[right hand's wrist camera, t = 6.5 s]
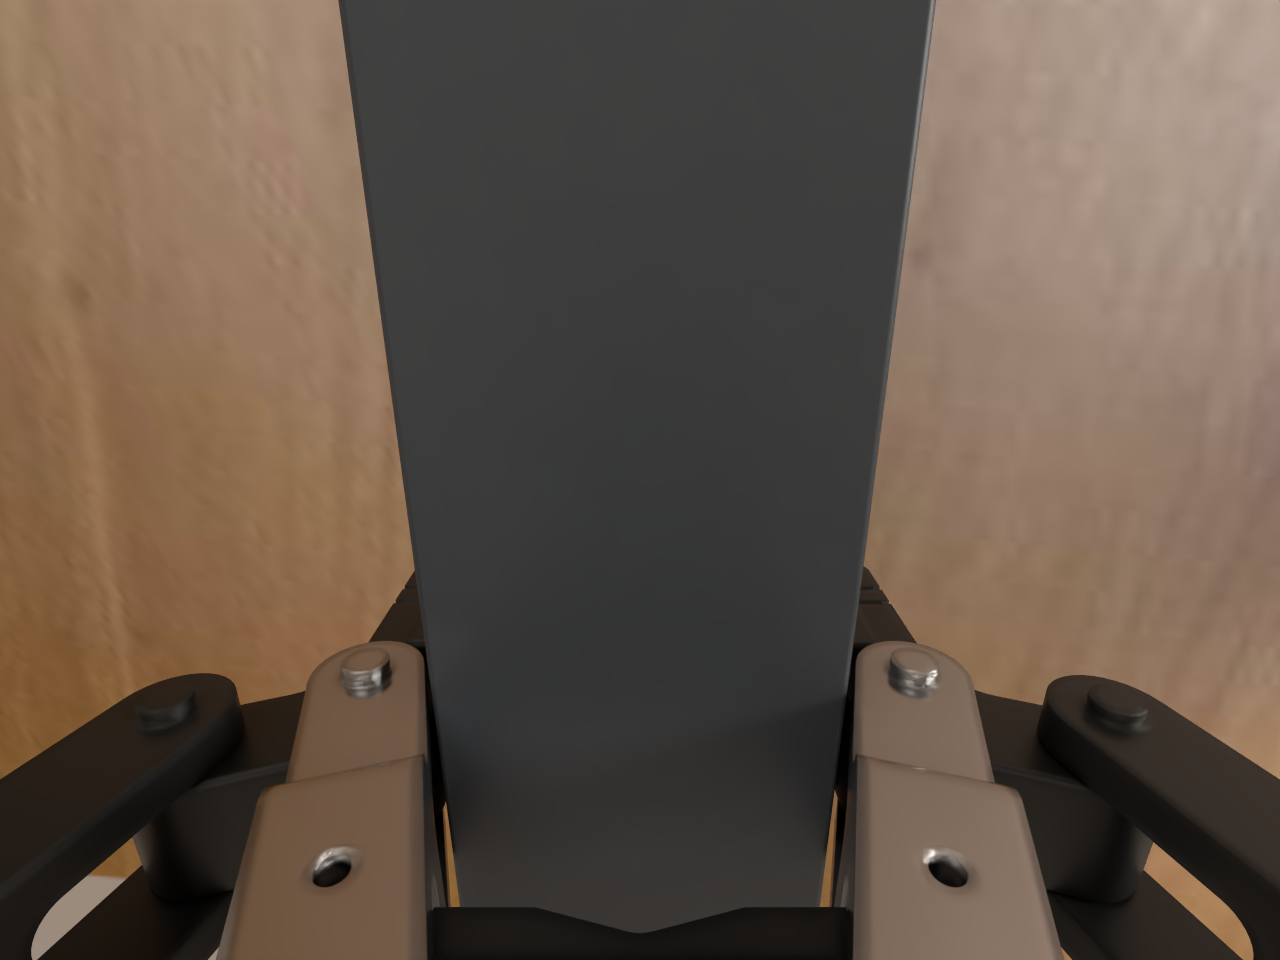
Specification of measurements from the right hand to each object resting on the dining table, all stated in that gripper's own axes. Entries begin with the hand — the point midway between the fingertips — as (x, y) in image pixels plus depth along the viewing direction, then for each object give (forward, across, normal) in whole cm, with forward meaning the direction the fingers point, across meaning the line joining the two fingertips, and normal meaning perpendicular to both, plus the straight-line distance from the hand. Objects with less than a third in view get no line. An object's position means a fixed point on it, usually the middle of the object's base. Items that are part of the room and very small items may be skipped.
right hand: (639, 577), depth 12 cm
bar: (+3, 0, -26) cm, 27 cm away
